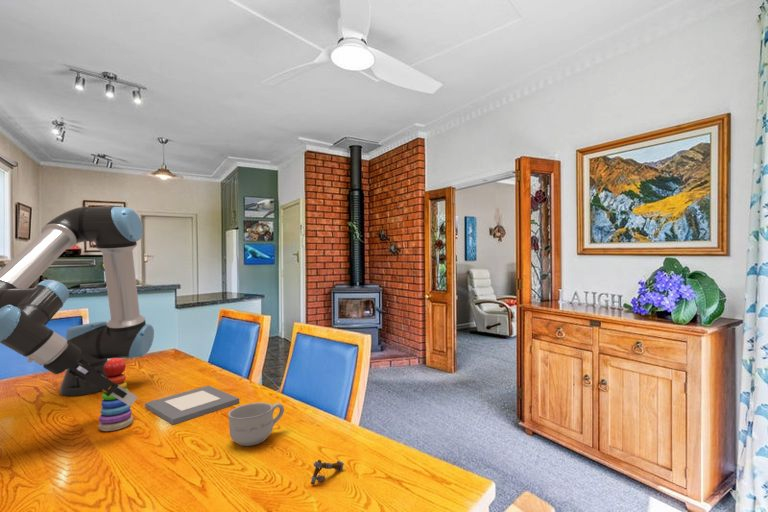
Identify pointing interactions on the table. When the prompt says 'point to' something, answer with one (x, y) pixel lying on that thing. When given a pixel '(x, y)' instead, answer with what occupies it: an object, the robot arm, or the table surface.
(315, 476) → the dark triangular frame
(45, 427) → the table surface
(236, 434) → the teacup
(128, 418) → the stacking toy
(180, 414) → the plate
